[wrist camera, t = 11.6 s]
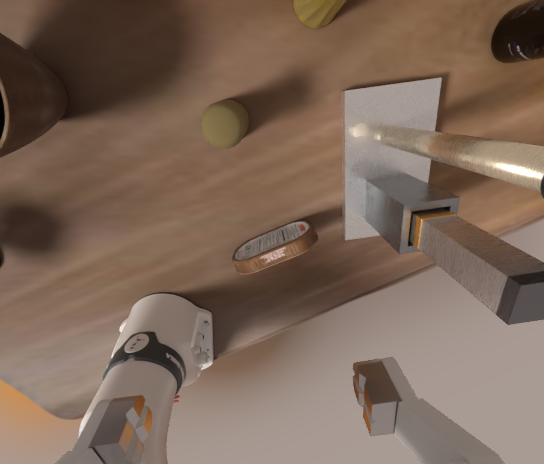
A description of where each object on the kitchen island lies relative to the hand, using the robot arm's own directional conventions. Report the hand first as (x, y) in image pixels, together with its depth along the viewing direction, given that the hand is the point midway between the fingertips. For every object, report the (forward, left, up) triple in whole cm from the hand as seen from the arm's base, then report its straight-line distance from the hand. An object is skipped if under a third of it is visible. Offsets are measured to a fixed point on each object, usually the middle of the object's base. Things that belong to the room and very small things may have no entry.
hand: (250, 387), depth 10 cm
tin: (-12, -2, -37) cm, 39 cm away
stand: (-2, -22, -37) cm, 43 cm away
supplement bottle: (+14, -40, -37) cm, 56 cm away
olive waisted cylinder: (+8, +2, -37) cm, 38 cm away
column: (-7, -22, -29) cm, 37 cm away
